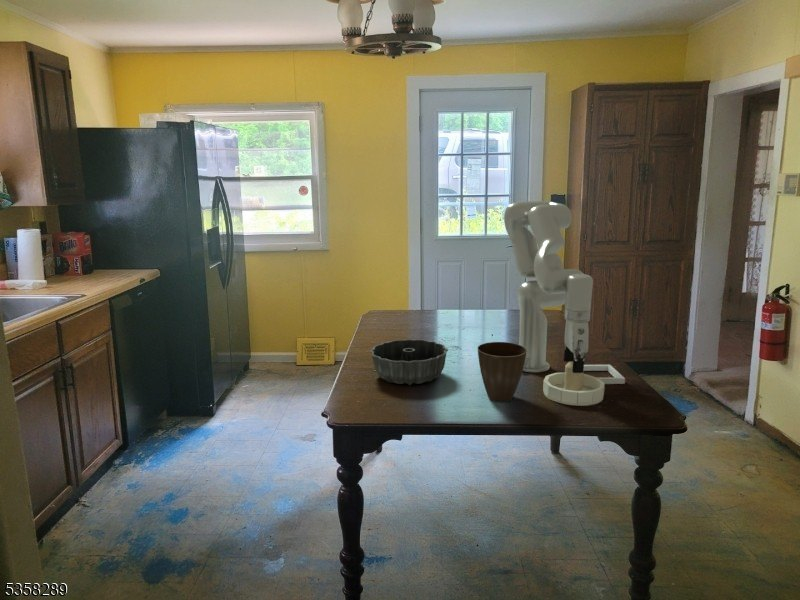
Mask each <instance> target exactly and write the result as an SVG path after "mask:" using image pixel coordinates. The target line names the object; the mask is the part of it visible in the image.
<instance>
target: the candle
mask: <svg viewBox="0 0 800 600" xmlns="http://www.w3.org/2000/svg"><path fill="white" fill-rule="evenodd" d="M572 369H573V361H570V362H566V364H565V368H564V372H565V382H564V389H565V390H573V391H582V387H583V374H584V372H585V371H584V369H583V373H573V372H572Z"/></svg>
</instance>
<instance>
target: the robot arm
mask: <svg viewBox="0 0 800 600" xmlns="http://www.w3.org/2000/svg"><path fill="white" fill-rule="evenodd" d="M572 216H573V215H572V212H571V210H570V208H569V207H568V206H567V205H566V204H564V203H559V202H555V201H550V200H546V201H545V200H536V201H534V200H531V201H529V200H528V201H527V200H525V201H516V202H513V203H510V204H508V205H507V207H506V208H505V211H504V217H503V218H504V219H503V221H504V227H505V230H506V233H507V235H508V237H509V241H510V242H511V245H512V251H513V256H514V260H515V264H516V270H517V273H518V274H519V275H518V276H519V277H521V278H523V279H535V280H529V281H528V280H527V281H525V282H523V283H521V284H520V285H519V287H518V290H517V298H518V300H517V301H518V306H519V330H518V331H519V332H518V334H519V335H518V337H519V338H518V345H521V346H523V347H525V348H526V349H527V353H526V358H525V363H524V367H523V371H522V372H524V373H525V372H526V373H543V372H546V371H548V370H550V366H551V365H550V364H549V363H548V362H547V361H546V358H547V356H546V355H547V337H548V332H547V331H548V319H547V317H546V314H545V312H544V311H543V310H542V308H549V307H550V308H552V307H560V306H564V320H565V321H566V322H565V328H564V329H565V330H564V350H563V351H564V353H563V362H564V363H569V362H570V361H573V369H572V372H573V373H583V374H584V372H583V369H584V365H585V358H586V356H585V354H587V353H588V351H589V332H590V331H589V322H590V319H591V308H592V299H593V297H592V296H593V286H594V285H593V284H594V281H593V277H592V276H591V275H589V274H585V273H583V272H582V271H581V270H579V269H577V268H567V269H565V268H564V266H563V261H562V259H561V257H560V256H559V254H558V253H557V252H558V251H560V250H561V249H562V248H563V247H564V245H565V243H566V241H565V237H564V235H563V233H562V230H565V229H567V228H569V227H570V225H571V224H572V219H573V218H572ZM527 226H530V228H531V230H530V229H528V228H526V227H527ZM531 231H532V232H531ZM577 354H578V355H577Z"/></svg>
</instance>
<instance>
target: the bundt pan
mask: <svg viewBox="0 0 800 600" xmlns="http://www.w3.org/2000/svg"><path fill="white" fill-rule="evenodd" d="M448 350H449V349H448V348H447V347H446V346H445V345H444V344H442V343H439V342H436V341H431V340H427V339H410V338H409V339H395V340H391V341H388V342H387V341H386V342H381V343H380V344H376V345H374V346H373V347H372V349H370V350H369V353H370V354H371V356H372V362H373V366H374V370H375V371H376V373H377V375H378V376H379V378H381V379H382V380H385V382H387V383H394V384H396V385H397V384H398V385H404V384H407V385H408V386H411V385H412V384H416V385H418V384H419V385H421V384H423V383H425V382H426V383H430V382H432V381H433V380H434V379H437V378H438V377H439V376H440V375H441V374H442V372H443V370H444V368H445V364H446V360H447V359H446V358H447V352H448Z"/></svg>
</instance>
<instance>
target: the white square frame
mask: <svg viewBox="0 0 800 600" xmlns="http://www.w3.org/2000/svg"><path fill="white" fill-rule="evenodd" d="M587 371H588V372H590V371H591V372H592V371H593V372H594V371H595V372H596V371H597V372H598V371H599V372H600V371H601V372H602V371H603V372H605V371H607V372H608V373H610V375H611V376H612V377H611V376H610V377H609V376H608V377H606V376H605V377H598V378H599V379H600V380H601V381H602V382H604V383H605V385H614V384H615V385H617V384H619V385H623V384H624V385H626V384H625V383H626V378H625V377H624V376H623V375H622V374H621V373H620V372H619V371H618V370H617V369H616V368H614V366H612V365H611V364H584V372H587Z"/></svg>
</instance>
